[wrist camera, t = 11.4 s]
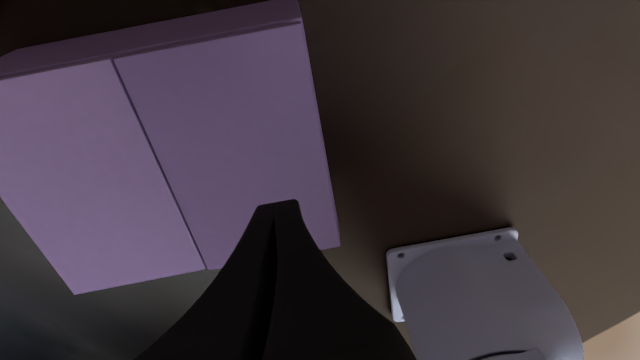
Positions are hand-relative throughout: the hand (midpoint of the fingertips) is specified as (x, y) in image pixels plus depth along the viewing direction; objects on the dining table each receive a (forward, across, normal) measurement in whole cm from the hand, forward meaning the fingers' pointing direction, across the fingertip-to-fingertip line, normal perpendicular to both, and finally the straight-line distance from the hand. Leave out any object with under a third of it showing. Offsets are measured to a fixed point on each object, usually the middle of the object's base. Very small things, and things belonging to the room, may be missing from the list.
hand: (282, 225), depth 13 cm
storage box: (+10, +5, 0) cm, 12 cm away
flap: (+5, +8, 0) cm, 10 cm away
